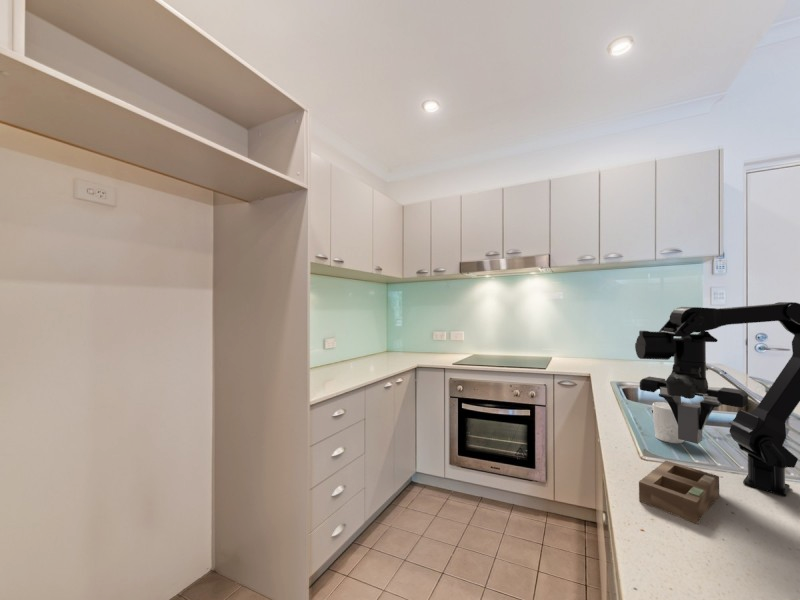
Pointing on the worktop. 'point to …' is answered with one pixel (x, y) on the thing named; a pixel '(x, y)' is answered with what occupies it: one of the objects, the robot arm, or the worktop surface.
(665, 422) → the white cup
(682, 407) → the plug
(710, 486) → the socket block
